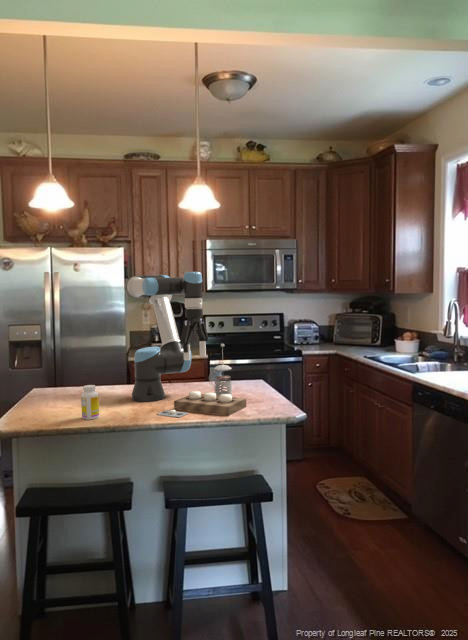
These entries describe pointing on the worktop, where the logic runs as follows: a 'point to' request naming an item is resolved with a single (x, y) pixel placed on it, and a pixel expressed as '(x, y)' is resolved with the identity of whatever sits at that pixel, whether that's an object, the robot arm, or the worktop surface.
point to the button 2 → (210, 397)
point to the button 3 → (226, 398)
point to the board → (210, 405)
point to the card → (172, 413)
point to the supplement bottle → (89, 403)
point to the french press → (222, 379)
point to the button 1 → (194, 395)
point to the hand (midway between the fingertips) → (195, 358)
